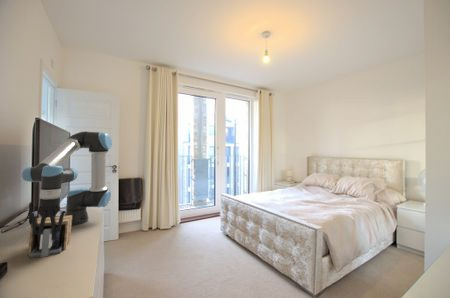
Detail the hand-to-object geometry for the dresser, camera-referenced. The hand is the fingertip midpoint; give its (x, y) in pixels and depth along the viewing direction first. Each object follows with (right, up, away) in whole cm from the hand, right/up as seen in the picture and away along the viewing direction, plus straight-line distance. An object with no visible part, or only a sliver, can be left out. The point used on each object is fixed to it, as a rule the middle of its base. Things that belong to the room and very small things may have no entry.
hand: (45, 247), depth 94 cm
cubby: (-5, -4, +8) cm, 10 cm away
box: (-4, -4, +6) cm, 8 cm away
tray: (-3, -4, +6) cm, 8 cm away
